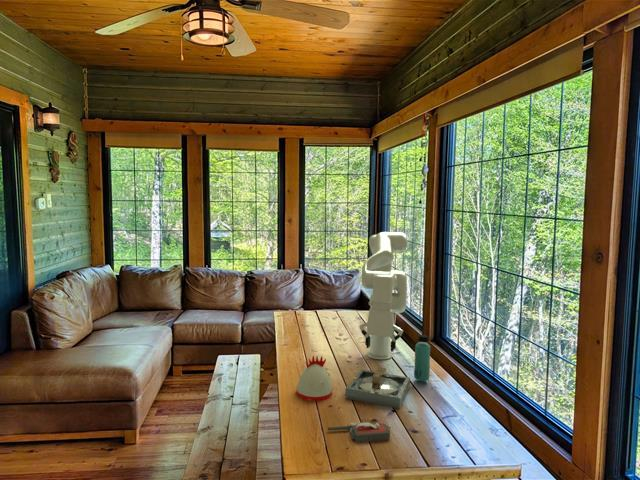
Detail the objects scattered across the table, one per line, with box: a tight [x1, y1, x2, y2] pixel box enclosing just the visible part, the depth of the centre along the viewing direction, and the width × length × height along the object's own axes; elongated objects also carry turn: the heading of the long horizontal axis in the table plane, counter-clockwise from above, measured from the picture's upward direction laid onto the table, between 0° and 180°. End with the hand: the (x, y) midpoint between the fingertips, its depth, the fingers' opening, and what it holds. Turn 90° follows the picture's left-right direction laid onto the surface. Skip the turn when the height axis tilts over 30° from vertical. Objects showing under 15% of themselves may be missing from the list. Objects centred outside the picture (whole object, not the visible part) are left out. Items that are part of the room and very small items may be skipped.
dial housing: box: [344, 369, 411, 410], centre depth 174 cm, size 21×21×4 cm
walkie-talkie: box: [327, 422, 391, 443], centre depth 142 cm, size 9×4×20 cm
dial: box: [359, 367, 399, 395], centre depth 174 cm, size 16×16×6 cm
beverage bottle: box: [413, 334, 432, 382], centre depth 185 cm, size 6×7×20 cm
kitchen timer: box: [296, 355, 333, 402], centre depth 172 cm, size 14×14×15 cm
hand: (380, 348), depth 173 cm, fingers open, 9 cm apart
